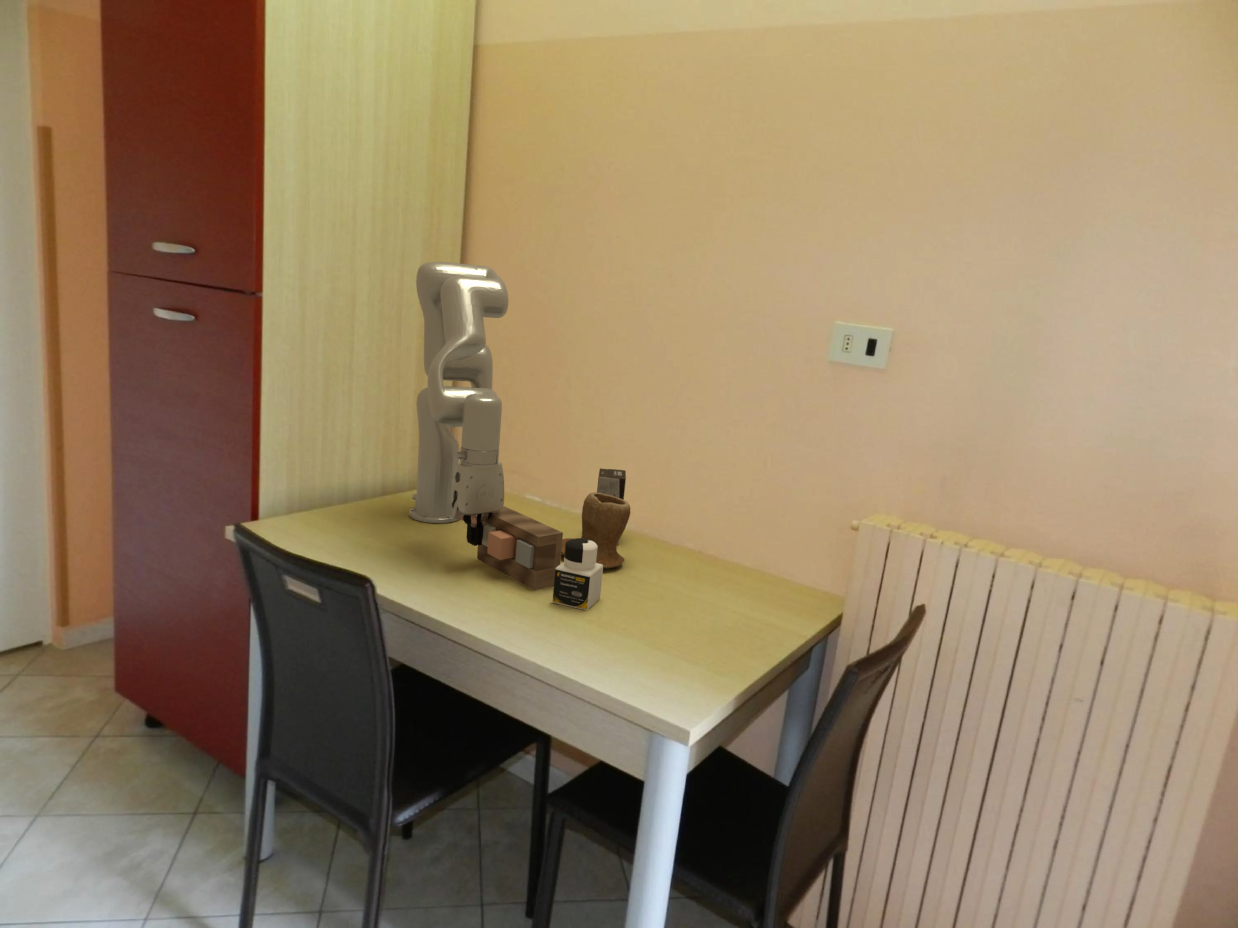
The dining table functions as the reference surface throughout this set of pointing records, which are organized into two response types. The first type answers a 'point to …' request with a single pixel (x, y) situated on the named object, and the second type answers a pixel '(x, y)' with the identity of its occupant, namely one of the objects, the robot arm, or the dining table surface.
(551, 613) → the dining table surface
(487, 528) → the ivory key
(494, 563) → the wooden button box
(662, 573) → the dining table surface
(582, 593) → the medicine bottle
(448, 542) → the dining table surface
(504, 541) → the terracotta key
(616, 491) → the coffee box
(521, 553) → the slate key
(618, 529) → the stone cup
